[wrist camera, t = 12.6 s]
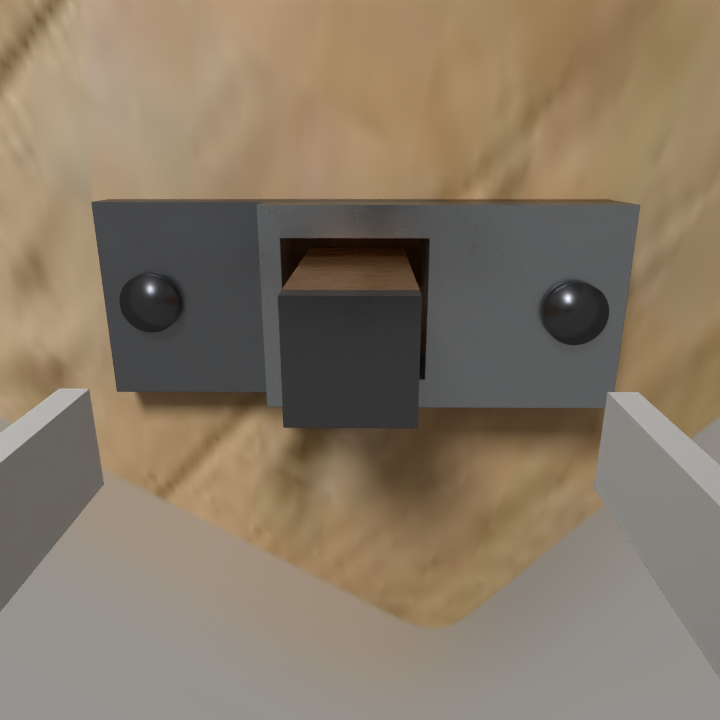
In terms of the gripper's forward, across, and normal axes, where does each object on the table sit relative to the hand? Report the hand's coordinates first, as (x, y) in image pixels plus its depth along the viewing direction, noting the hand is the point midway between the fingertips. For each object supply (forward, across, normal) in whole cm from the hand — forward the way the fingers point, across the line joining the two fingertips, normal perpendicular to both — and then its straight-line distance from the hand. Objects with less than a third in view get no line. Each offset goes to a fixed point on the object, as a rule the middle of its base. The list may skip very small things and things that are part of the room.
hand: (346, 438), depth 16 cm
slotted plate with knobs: (+18, 0, 0) cm, 19 cm away
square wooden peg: (+19, 0, 0) cm, 19 cm away
